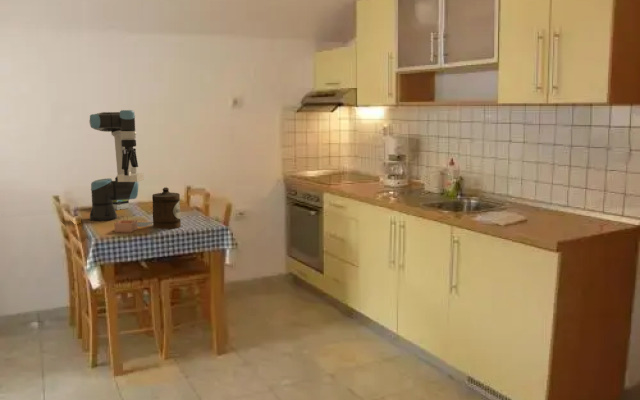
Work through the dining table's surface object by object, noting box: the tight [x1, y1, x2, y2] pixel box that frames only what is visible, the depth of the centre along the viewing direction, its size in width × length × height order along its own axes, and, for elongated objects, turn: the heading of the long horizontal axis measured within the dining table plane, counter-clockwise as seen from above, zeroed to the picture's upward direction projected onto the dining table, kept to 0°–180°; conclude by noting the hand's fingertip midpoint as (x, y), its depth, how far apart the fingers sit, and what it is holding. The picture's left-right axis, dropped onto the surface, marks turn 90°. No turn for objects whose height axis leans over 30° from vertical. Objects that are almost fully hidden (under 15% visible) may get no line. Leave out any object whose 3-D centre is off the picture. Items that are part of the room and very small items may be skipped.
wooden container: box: [152, 186, 182, 230], centre depth 330 cm, size 15×15×22 cm
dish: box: [114, 219, 139, 234], centre depth 319 cm, size 9×9×5 cm
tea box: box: [113, 200, 130, 211], centre depth 388 cm, size 15×10×15 cm
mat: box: [137, 221, 153, 228], centre depth 336 cm, size 12×12×1 cm
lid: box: [116, 172, 145, 183], centre depth 323 cm, size 10×10×4 cm
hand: (130, 180), depth 323 cm, fingers closed on lid, 10 cm apart
